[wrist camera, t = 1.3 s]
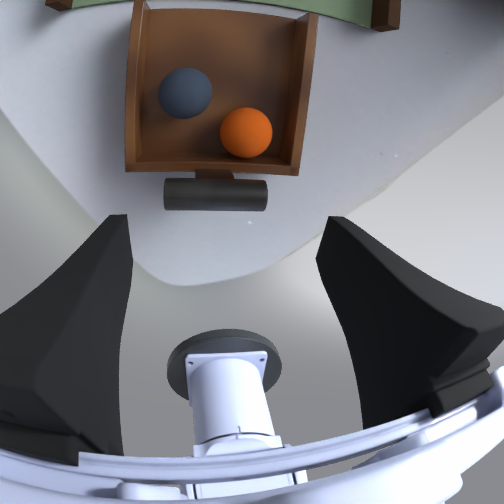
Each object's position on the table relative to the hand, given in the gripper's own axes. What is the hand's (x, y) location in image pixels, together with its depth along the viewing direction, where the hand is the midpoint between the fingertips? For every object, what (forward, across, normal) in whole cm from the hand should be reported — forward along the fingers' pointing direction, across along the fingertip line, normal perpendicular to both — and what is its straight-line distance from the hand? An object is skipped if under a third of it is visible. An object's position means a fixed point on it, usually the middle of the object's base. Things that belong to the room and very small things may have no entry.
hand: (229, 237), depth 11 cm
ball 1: (+9, +2, -3) cm, 10 cm away
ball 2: (+8, -2, -1) cm, 9 cm away
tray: (+11, 0, -3) cm, 11 cm away
